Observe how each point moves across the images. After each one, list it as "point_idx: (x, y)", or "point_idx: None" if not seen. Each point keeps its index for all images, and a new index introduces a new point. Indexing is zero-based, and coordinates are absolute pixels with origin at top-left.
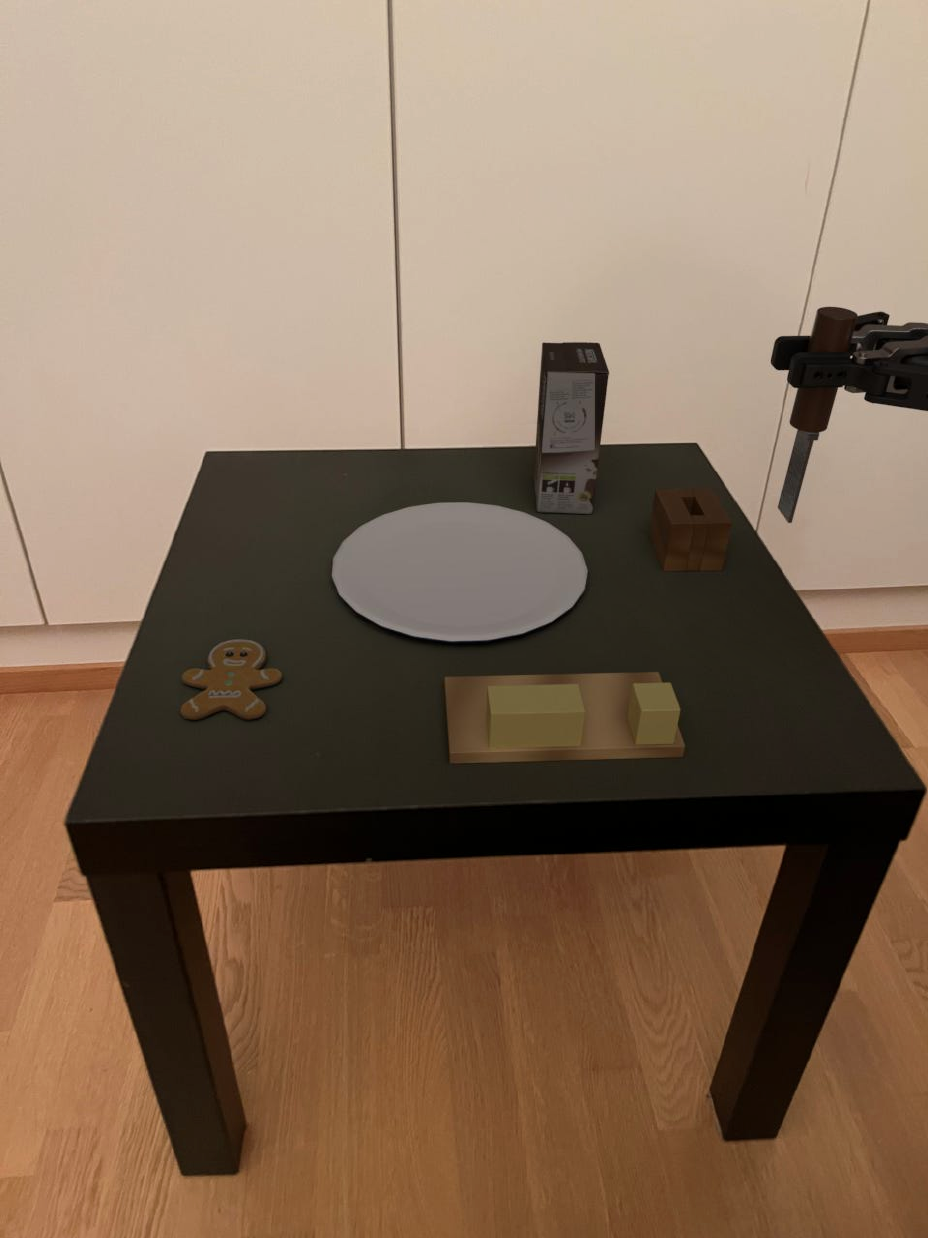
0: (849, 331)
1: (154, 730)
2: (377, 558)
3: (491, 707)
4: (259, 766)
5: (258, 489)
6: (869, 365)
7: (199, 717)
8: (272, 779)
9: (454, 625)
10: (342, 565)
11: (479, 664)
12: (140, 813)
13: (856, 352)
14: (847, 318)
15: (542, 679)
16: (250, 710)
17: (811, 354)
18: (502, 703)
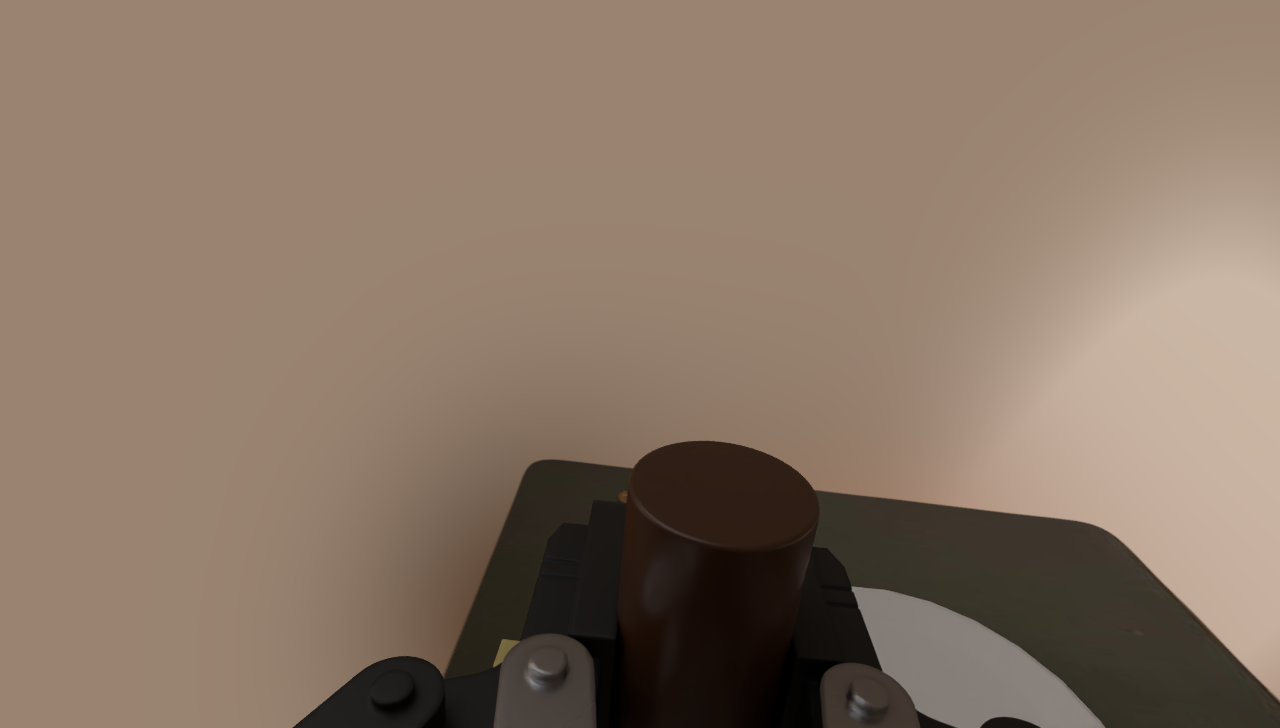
0: (632, 558)
1: (613, 484)
2: (912, 638)
3: (513, 641)
4: (554, 531)
5: (1035, 551)
6: (492, 713)
7: (618, 499)
8: (536, 537)
9: None
10: (870, 595)
11: None
12: (525, 478)
13: (581, 656)
14: (634, 485)
15: None
16: None
17: (602, 524)
18: None
